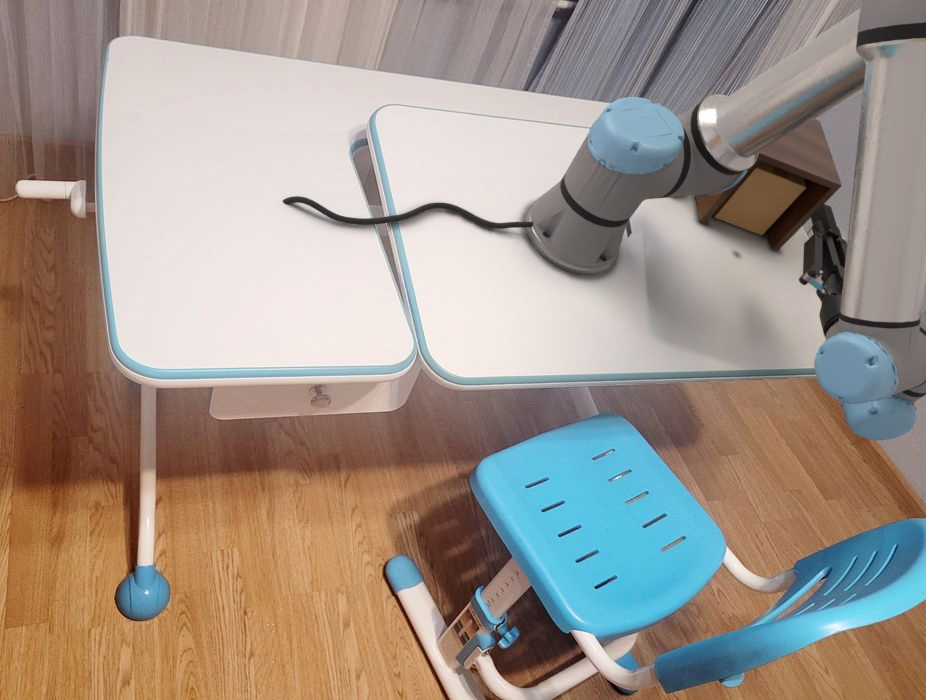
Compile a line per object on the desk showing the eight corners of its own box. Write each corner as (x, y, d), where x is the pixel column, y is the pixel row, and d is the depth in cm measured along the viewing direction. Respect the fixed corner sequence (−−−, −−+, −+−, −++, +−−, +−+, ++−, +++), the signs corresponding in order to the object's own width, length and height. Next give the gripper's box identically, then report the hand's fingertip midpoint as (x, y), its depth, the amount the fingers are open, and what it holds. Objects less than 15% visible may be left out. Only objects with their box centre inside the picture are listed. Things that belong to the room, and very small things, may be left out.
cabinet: (778, 250, 137) (842, 185, 125) (699, 222, 134) (757, 151, 122) (762, 186, 149) (820, 120, 137) (689, 158, 145) (741, 88, 133)
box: (761, 235, 138) (807, 187, 129) (714, 217, 136) (756, 167, 127) (751, 186, 147) (793, 138, 138) (706, 169, 145) (746, 118, 136)
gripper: (794, 332, 102) (767, 214, 116) (874, 360, 105) (838, 241, 119) (834, 298, 96) (801, 178, 111) (917, 328, 99) (874, 208, 114)
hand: (820, 211), depth 115 cm, fingers closed
